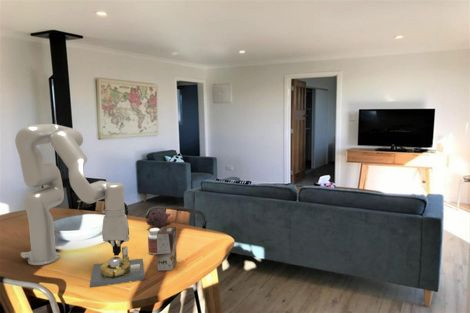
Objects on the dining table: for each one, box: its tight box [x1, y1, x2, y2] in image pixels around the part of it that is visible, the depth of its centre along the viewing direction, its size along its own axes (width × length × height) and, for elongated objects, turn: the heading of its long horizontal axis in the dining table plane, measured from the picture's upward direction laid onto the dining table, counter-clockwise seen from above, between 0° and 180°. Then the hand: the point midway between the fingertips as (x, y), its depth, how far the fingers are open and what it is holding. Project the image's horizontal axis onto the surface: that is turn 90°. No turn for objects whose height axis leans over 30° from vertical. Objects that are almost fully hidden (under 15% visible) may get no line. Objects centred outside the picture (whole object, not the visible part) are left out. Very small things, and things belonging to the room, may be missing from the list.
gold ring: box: [100, 245, 130, 277], centre depth 147 cm, size 15×11×6 cm
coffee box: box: [156, 226, 178, 271], centre depth 153 cm, size 9×6×16 cm
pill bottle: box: [147, 227, 161, 255], centre depth 168 cm, size 6×6×11 cm
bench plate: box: [89, 256, 146, 288], centre depth 146 cm, size 20×16×7 cm
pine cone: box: [146, 208, 171, 227], centre depth 203 cm, size 18×10×10 cm, turn 150°
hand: (117, 254), depth 153 cm, fingers closed
